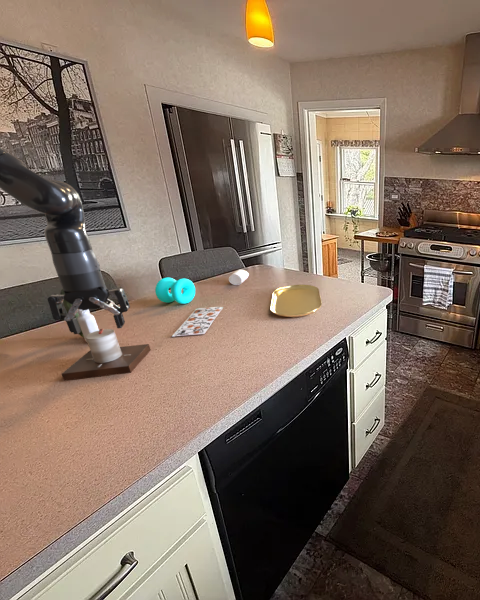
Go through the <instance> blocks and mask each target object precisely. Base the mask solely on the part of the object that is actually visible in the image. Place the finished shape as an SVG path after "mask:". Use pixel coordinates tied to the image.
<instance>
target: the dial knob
mask: <svg viewBox="0 0 480 600" xmlns="http://www.w3.org/2000/svg"><path fill="white" fill-rule="evenodd" d="M86 340H87V342H86V343H87V345H88V347H89V351H90V350H91V353H92V356H93V358H94V361H95V362H96V363H105V362H109V361H113V360H115V359H117V358H119V357H120V356H121V355H122V352H121V349H120V347H121V346H120V344H119V343H120V342H119V340H118V337H117V334H116V331H115V330H114V329H112V328H106V329H105V328H99V331H95V332H92V333H90V334H88V335H87V336H86Z"/></svg>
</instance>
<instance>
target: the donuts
mask: <svg viewBox="0 0 480 600" xmlns="http://www.w3.org/2000/svg"><path fill="white" fill-rule="evenodd" d="M169 289H170V291H169ZM154 290H155V291H154V292H155V296H156V298H157V299H158V300H159V301H160V302H161V303H166V304H170V303H173V302H176V303H178V304H180V305H186V304H189V303H190V302H192V301H193V299H194V298H195V296H196V287H195V284H194V282H193V281H192V280H191V279H188V278H185V277H184V278H178V279H177V280H176V279H174V278H172V277H167V276H166V277H163V278H161V279H159V280H158V282H157V283H156V285H155V289H154Z"/></svg>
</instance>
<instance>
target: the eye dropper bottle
mask: <svg viewBox="0 0 480 600" xmlns="http://www.w3.org/2000/svg"><path fill="white" fill-rule="evenodd" d="M78 314H79V316H78V322H79V325H80V328H81V330H82V333H83V336H84V337H83V339H84V341H85V342H86V343H88V342H87V340H86V336H87V335H88V334H90V333H92V332H95V331H99V330H100V328H99V326H98V323H97V321H96V317H95V316H94V315H93V314H91V311H90V309H88V310H81V309H79V310H78Z"/></svg>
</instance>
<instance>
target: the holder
mask: <svg viewBox="0 0 480 600" xmlns="http://www.w3.org/2000/svg"><path fill="white" fill-rule="evenodd" d="M120 349H121V352H122V355H121V356H120V357H119V358H117V359H115V360H113V361H109V362H105V363H96V362H95V361H94V358H93V356H92V353H91V350H90V349H89V350H88V351H87V352H86V353H84V355H82V356H81V357H80V358H79V359H77V360H76V361H75V362H73V364H72V365H70V366H69V367H68V368H66V369H65V370H64V371H63V372H61V377H62V379H63V381H73V380H74V381H75V380H81V379H90V378H98V377H99V378H100V377H106V376H114V375H122V374H123V375H124V374H130V373H131V374H132V372H133V371H135V369H136V368H137V367H138V366H139V364H140V363H141V362H142V360H143V359H145V357H146V356H147V355H148V354H149V353H150V351H151V346H150V343H145V344H135V345H126V346H125V345H124V346H120Z"/></svg>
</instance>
